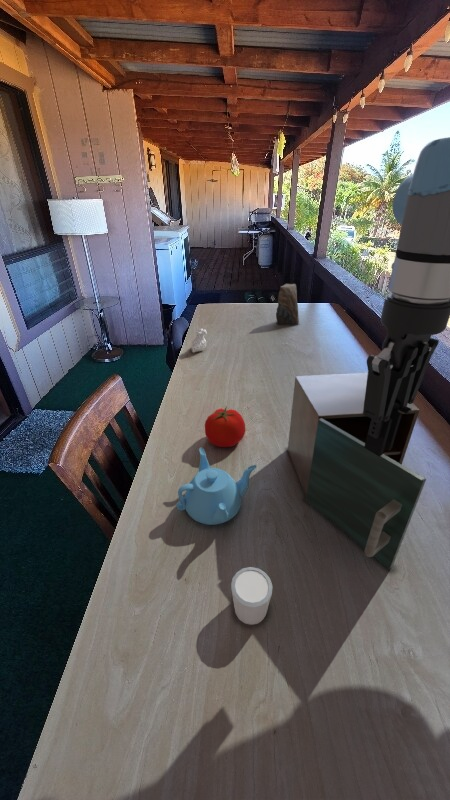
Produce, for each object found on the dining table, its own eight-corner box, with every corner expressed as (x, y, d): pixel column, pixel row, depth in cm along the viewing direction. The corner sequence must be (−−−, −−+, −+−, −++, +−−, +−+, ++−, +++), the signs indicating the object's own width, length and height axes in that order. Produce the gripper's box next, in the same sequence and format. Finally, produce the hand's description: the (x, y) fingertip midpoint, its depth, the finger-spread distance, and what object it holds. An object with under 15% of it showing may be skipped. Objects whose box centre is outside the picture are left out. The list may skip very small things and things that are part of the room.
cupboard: (392, 491, 85) (419, 409, 73) (306, 498, 83) (318, 416, 71) (361, 445, 100) (379, 371, 88) (287, 450, 99) (295, 376, 86)
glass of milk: (222, 608, 61) (222, 585, 58) (249, 582, 66) (250, 559, 62) (252, 639, 57) (253, 616, 54) (278, 609, 61) (281, 585, 58)
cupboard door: (370, 588, 64) (402, 497, 52) (287, 512, 79) (297, 429, 67) (391, 568, 68) (426, 478, 56) (308, 499, 83) (321, 417, 71)
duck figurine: (196, 359, 157) (210, 341, 152) (183, 349, 156) (197, 330, 150) (203, 349, 167) (216, 332, 162) (190, 339, 166) (203, 322, 160)
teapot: (168, 515, 79) (164, 482, 74) (204, 475, 90) (202, 443, 85) (224, 543, 73) (224, 509, 68) (255, 495, 84) (257, 463, 79)
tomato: (236, 426, 109) (236, 398, 104) (251, 448, 100) (252, 418, 94) (199, 435, 105) (197, 406, 100) (212, 458, 96) (210, 427, 91)
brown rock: (275, 325, 191) (277, 287, 180) (274, 318, 201) (276, 282, 191) (298, 325, 190) (302, 288, 179) (296, 318, 200) (300, 282, 190)
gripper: (422, 281, 49) (384, 421, 61) (355, 298, 41) (327, 453, 53) (481, 292, 43) (426, 442, 56) (416, 314, 36) (369, 482, 48)
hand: (377, 447), depth 54 cm, fingers closed
